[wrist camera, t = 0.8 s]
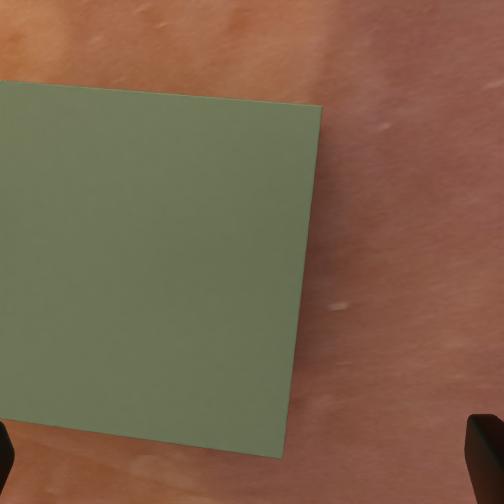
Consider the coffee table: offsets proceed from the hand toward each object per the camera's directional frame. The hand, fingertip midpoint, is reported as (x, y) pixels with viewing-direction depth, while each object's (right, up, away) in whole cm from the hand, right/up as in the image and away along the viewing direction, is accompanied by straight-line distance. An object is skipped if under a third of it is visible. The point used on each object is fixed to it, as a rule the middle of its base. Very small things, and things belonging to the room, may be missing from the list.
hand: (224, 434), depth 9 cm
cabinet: (-4, +4, +14) cm, 15 cm away
